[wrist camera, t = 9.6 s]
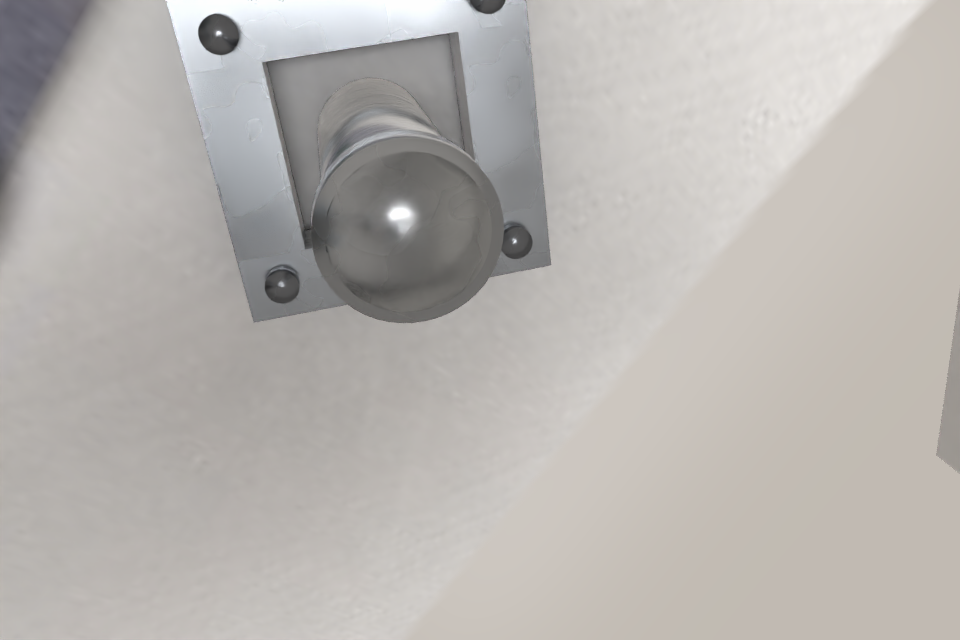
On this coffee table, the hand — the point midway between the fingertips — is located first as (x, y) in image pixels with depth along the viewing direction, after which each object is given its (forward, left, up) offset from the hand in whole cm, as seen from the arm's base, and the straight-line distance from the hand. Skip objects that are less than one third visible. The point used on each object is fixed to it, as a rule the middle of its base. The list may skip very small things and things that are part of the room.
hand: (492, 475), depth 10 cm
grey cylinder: (0, 0, -22) cm, 22 cm away
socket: (0, 0, -22) cm, 22 cm away
